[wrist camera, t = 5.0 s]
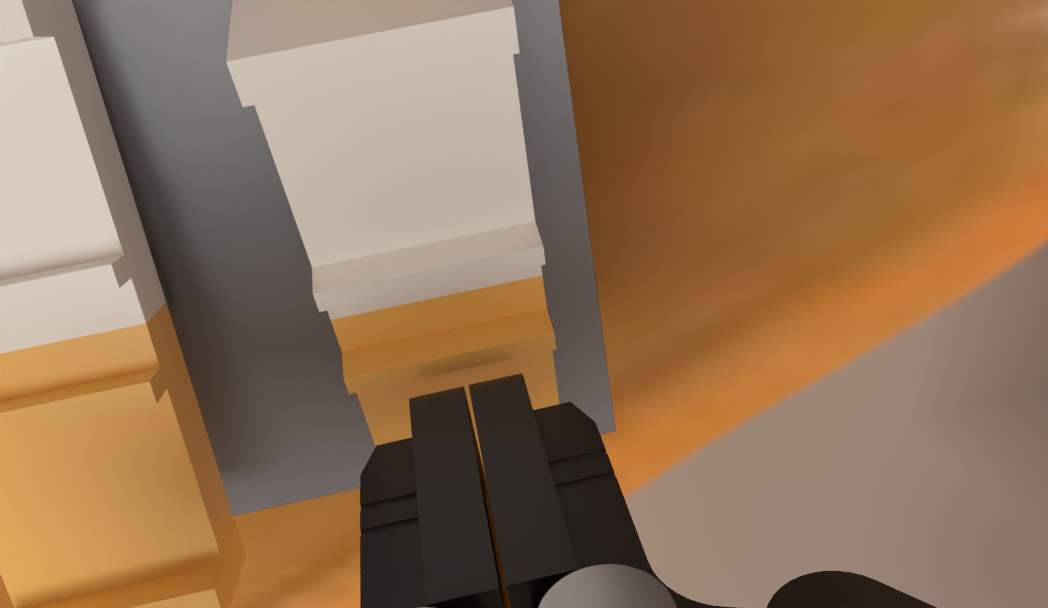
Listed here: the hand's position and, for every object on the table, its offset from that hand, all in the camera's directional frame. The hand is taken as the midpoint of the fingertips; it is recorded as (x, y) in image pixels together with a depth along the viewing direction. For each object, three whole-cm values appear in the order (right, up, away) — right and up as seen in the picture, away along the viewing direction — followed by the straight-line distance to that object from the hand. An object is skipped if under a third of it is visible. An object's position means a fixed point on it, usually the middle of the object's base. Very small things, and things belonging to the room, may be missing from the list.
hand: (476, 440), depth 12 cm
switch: (-1, +3, +1) cm, 3 cm away
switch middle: (-6, +2, 0) cm, 6 cm away
